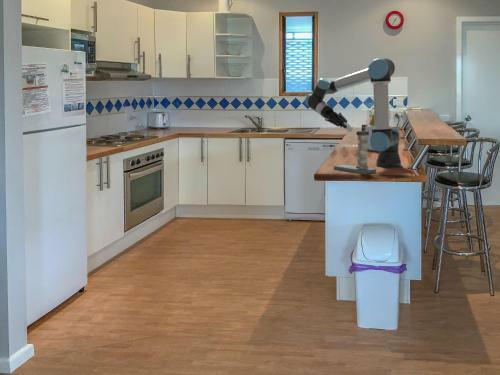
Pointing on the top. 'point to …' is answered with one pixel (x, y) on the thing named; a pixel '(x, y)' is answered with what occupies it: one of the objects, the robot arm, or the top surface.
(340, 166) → the fader console
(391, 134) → the robot arm
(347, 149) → the top surface
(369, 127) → the soap bottle
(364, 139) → the lever
